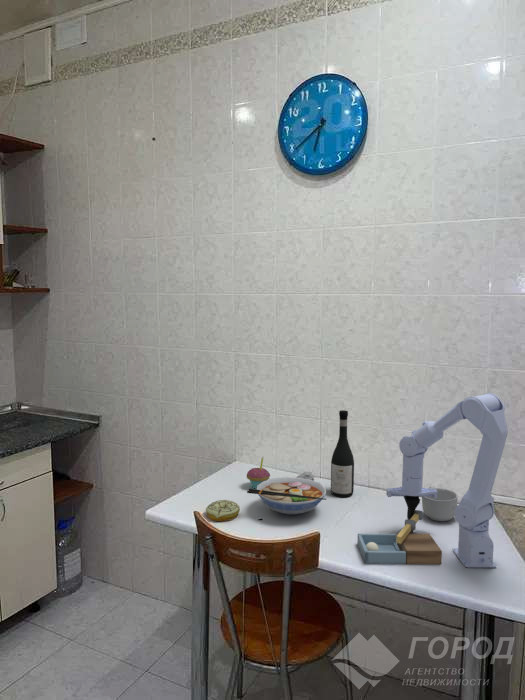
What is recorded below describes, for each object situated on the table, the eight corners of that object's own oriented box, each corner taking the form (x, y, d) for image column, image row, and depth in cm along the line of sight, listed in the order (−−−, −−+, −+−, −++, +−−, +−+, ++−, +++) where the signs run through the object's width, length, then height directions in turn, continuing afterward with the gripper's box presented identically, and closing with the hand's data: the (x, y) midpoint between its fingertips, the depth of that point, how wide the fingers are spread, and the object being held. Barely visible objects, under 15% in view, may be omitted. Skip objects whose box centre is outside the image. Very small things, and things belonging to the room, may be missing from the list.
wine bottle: (351, 499, 175) (353, 414, 172) (328, 496, 177) (330, 412, 175) (354, 491, 182) (356, 409, 180) (332, 488, 185) (334, 407, 182)
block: (441, 563, 132) (441, 549, 131) (406, 563, 132) (407, 548, 131) (426, 541, 144) (426, 527, 144) (394, 541, 144) (394, 527, 144)
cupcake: (274, 485, 187) (274, 454, 186) (261, 493, 180) (261, 460, 179) (254, 481, 192) (254, 450, 191) (241, 488, 185) (242, 456, 184)
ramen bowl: (333, 501, 173) (334, 478, 172) (323, 530, 151) (324, 504, 150) (263, 494, 179) (263, 471, 179) (243, 520, 157) (243, 495, 157)
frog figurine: (311, 494, 179) (311, 475, 178) (292, 491, 182) (292, 472, 181) (316, 489, 184) (317, 470, 184) (298, 486, 187) (299, 467, 187)
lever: (404, 544, 133) (404, 537, 133) (393, 541, 135) (393, 534, 134) (423, 518, 150) (424, 511, 149) (413, 515, 151) (414, 509, 151)
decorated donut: (199, 514, 162) (199, 503, 162) (227, 506, 169) (227, 495, 168) (217, 526, 154) (217, 514, 153) (245, 516, 160) (245, 505, 160)
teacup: (459, 526, 154) (460, 501, 153) (422, 523, 156) (423, 498, 155) (452, 508, 168) (452, 485, 167) (418, 505, 170) (418, 482, 169)
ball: (382, 555, 134) (377, 543, 133) (369, 560, 133) (365, 548, 133) (378, 549, 137) (374, 537, 137) (366, 554, 137) (362, 542, 137)
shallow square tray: (405, 563, 132) (406, 552, 131) (365, 563, 132) (365, 552, 131) (395, 544, 142) (395, 533, 142) (357, 543, 142) (357, 533, 142)
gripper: (432, 471, 153) (430, 514, 154) (384, 470, 153) (383, 513, 154) (440, 479, 146) (438, 524, 147) (390, 478, 146) (388, 524, 147)
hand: (410, 519), depth 150 cm, fingers closed, pressing on lever
